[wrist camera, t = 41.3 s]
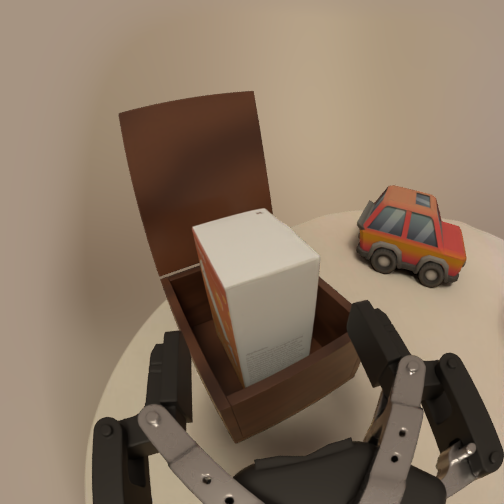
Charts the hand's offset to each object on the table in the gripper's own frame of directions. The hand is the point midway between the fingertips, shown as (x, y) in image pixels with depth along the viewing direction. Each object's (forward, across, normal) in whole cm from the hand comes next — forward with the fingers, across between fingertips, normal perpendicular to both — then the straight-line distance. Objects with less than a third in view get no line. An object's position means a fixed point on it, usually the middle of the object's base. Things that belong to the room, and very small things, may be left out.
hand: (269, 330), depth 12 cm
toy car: (+19, -25, +14) cm, 34 cm away
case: (+8, 0, +13) cm, 15 cm away
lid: (+16, +3, -2) cm, 16 cm away
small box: (+8, 0, +13) cm, 15 cm away
